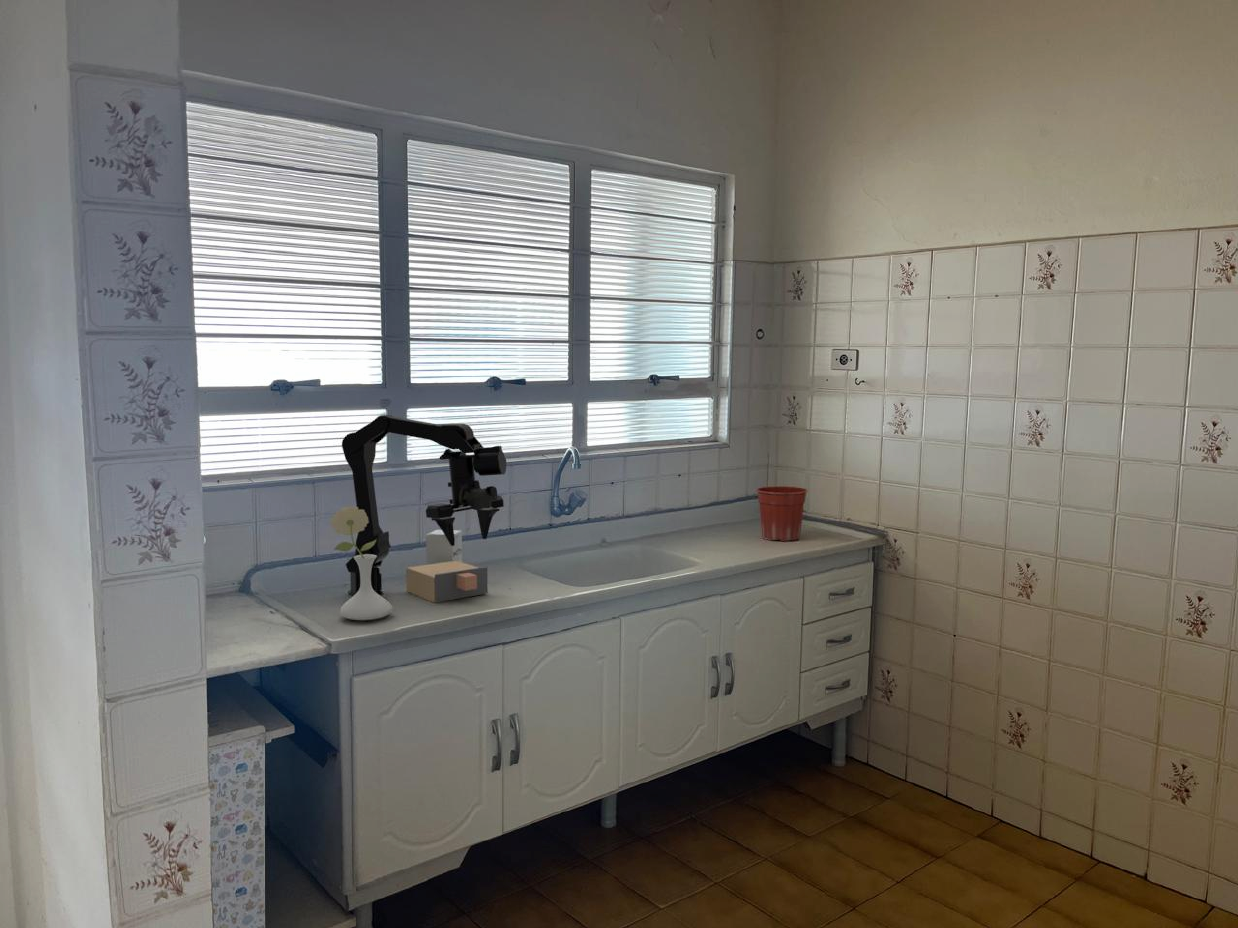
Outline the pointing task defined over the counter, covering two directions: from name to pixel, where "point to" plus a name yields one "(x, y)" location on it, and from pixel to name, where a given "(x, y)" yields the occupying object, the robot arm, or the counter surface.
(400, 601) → the counter surface
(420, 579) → the sleeve
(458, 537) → the supplement box
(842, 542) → the counter surface
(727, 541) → the counter surface
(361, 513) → the flower in vase
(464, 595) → the tray
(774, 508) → the flower pot
